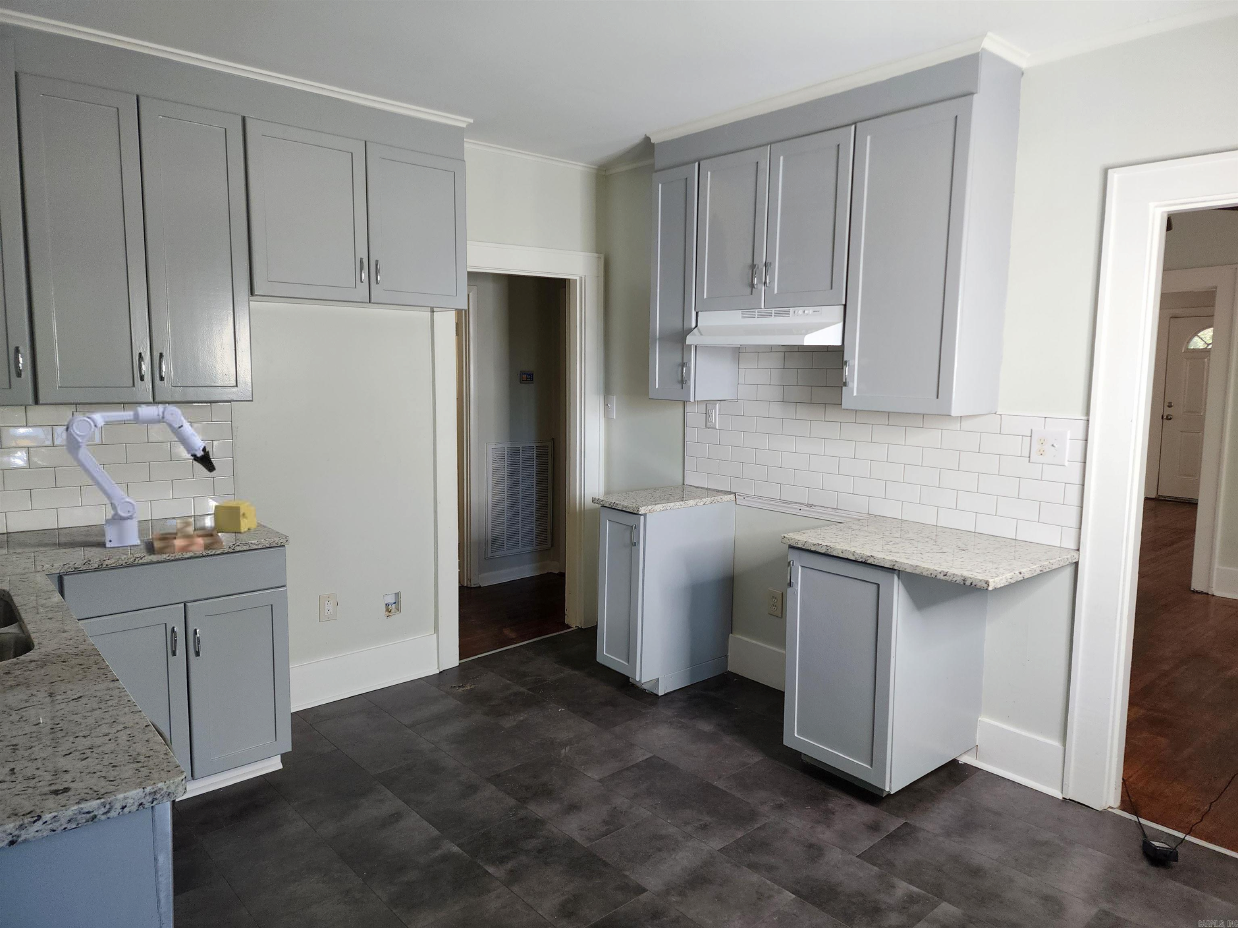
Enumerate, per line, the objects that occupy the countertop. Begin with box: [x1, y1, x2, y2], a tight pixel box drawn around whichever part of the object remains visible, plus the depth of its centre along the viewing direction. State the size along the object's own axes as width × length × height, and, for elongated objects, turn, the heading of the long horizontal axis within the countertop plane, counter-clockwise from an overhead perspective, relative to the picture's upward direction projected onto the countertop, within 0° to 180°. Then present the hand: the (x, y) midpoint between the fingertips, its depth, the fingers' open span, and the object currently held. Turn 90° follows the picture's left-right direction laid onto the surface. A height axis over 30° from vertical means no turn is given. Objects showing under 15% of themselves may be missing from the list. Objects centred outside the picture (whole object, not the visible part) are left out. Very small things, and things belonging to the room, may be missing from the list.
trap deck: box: [151, 528, 224, 556], centre depth 267 cm, size 19×22×2 cm
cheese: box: [213, 499, 258, 533], centre depth 293 cm, size 10×11×10 cm
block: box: [175, 518, 194, 535], centre depth 273 cm, size 4×4×4 cm
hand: (211, 469), depth 281 cm, fingers open, 7 cm apart
